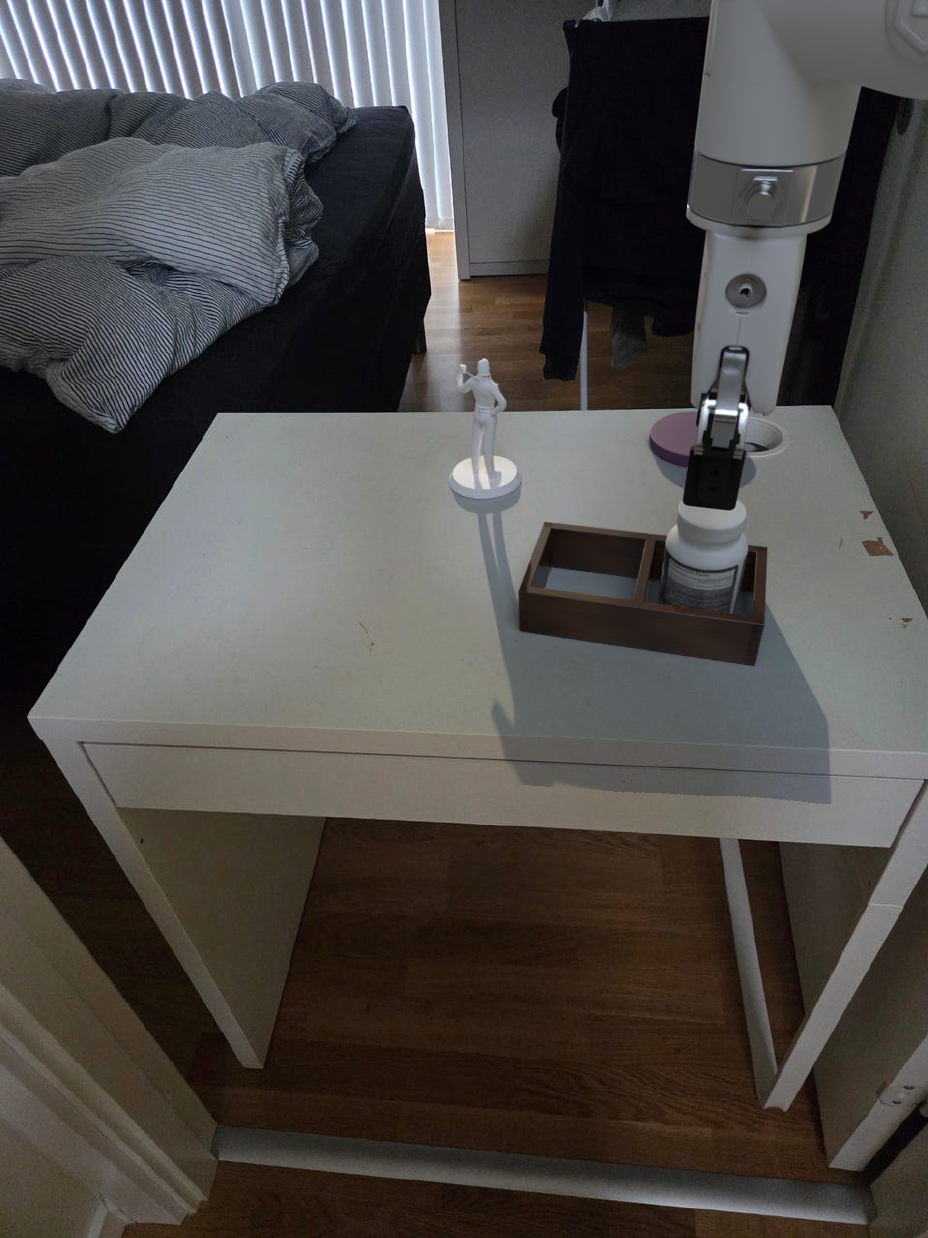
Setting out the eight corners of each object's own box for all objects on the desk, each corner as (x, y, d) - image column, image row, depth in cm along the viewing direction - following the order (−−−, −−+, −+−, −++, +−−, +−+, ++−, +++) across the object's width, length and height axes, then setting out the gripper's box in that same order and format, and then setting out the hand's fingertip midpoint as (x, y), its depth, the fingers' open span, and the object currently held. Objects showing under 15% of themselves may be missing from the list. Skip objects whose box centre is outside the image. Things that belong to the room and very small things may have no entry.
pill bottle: (676, 583, 68) (691, 478, 61) (745, 608, 65) (768, 501, 58) (644, 624, 64) (655, 517, 58) (715, 651, 62) (735, 543, 55)
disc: (744, 425, 86) (746, 414, 85) (740, 472, 79) (741, 460, 79) (654, 418, 88) (655, 407, 87) (643, 462, 82) (644, 452, 81)
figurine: (536, 473, 81) (536, 355, 73) (489, 507, 78) (483, 386, 70) (480, 451, 85) (474, 336, 77) (433, 482, 81) (421, 365, 73)
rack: (758, 587, 67) (767, 546, 64) (754, 666, 60) (764, 624, 58) (544, 560, 71) (544, 521, 69) (519, 631, 65) (518, 591, 62)
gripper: (843, 245, 38) (769, 549, 49) (832, 145, 50) (775, 407, 61) (673, 238, 39) (640, 533, 51) (702, 143, 52) (670, 398, 63)
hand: (713, 464), depth 56 cm, fingers open, 9 cm apart
